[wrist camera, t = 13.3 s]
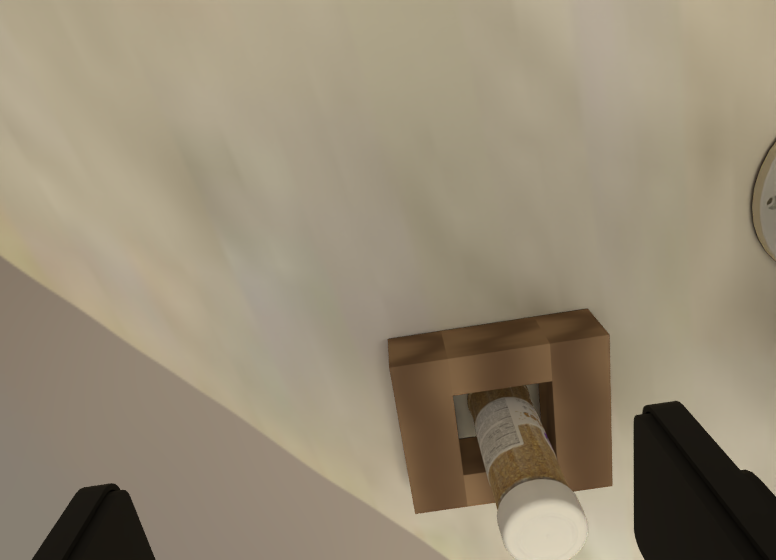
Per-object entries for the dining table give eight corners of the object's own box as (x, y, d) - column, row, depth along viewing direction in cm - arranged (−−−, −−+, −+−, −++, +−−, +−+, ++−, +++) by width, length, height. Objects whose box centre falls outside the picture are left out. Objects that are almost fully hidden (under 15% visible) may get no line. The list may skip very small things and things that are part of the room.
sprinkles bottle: (539, 401, 43) (606, 544, 31) (487, 433, 44) (532, 584, 32) (505, 357, 42) (562, 488, 29) (453, 391, 43) (486, 532, 30)
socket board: (587, 308, 41) (609, 334, 37) (592, 449, 45) (612, 485, 41) (387, 339, 41) (389, 367, 37) (411, 475, 46) (415, 513, 42)
